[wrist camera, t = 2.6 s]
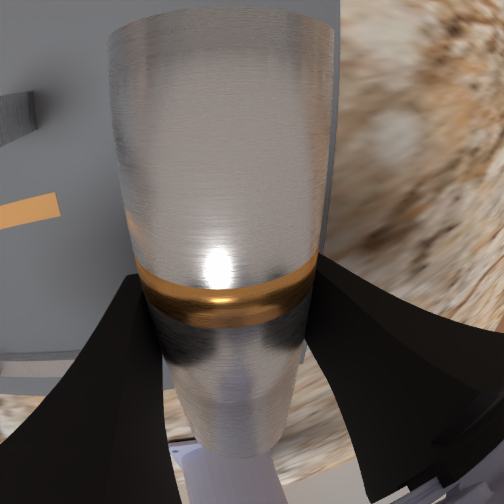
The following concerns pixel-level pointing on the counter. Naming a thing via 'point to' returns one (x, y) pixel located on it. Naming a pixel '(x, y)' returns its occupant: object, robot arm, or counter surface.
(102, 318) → the robot arm
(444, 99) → the counter surface
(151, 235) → the tube
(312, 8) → the board
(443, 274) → the counter surface
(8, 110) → the collar
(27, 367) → the collar
